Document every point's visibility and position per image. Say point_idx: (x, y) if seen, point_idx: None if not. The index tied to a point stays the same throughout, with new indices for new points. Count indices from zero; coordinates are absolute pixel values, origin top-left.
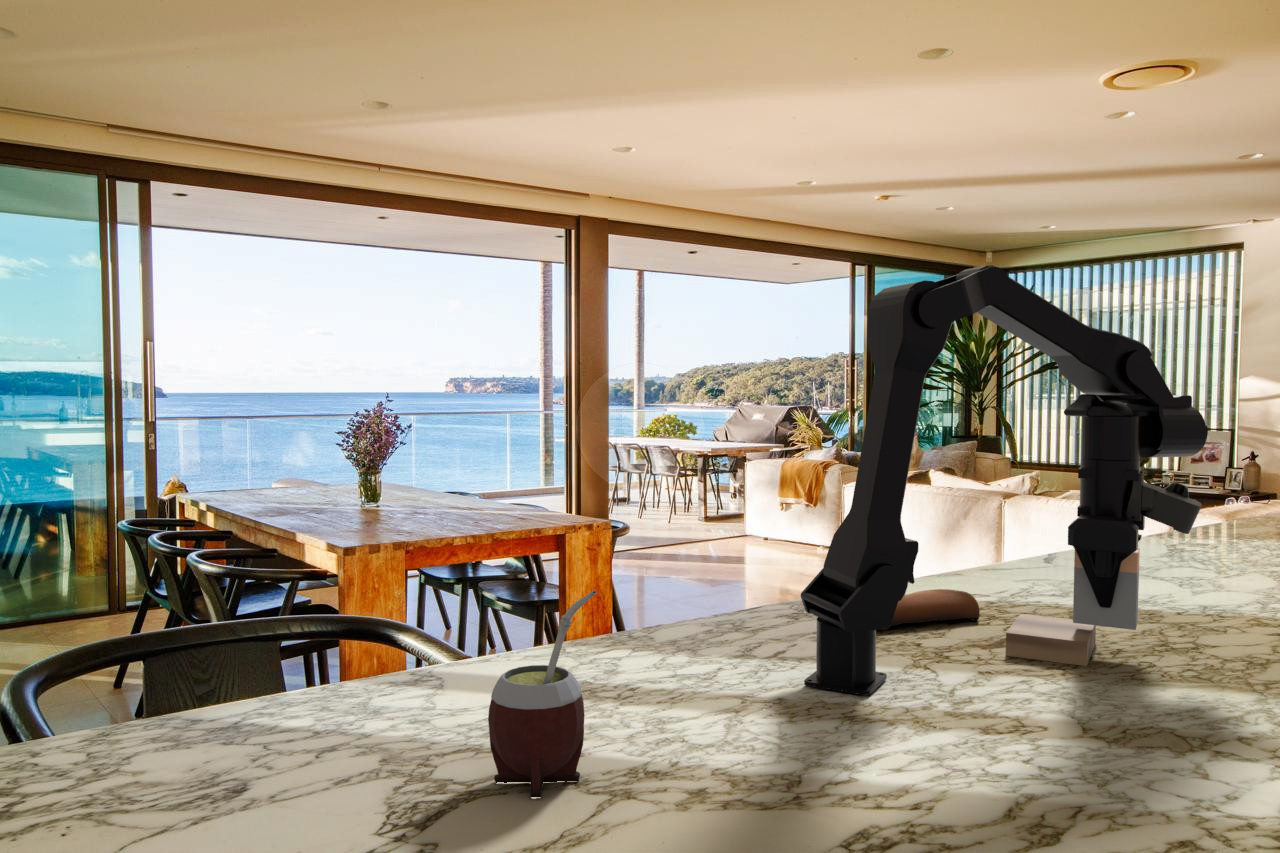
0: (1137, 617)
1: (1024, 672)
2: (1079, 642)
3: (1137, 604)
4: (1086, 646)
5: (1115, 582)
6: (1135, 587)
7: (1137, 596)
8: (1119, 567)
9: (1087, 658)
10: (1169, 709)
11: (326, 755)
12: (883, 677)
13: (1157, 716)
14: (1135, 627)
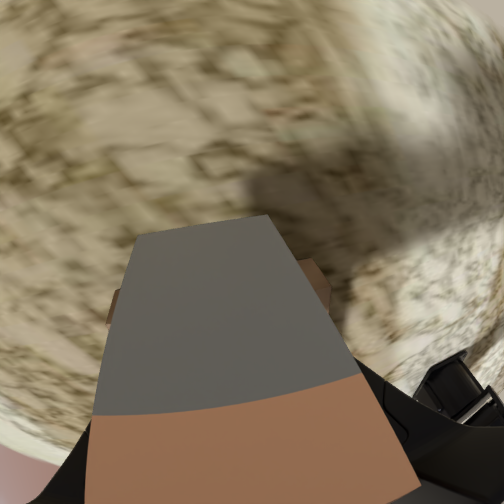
0: (153, 241)
1: (381, 311)
2: (329, 298)
3: (181, 265)
4: (326, 282)
5: (373, 374)
6: (327, 313)
7: (206, 286)
8: (437, 412)
9: (307, 266)
10: (470, 115)
11: (495, 386)
12: (440, 366)
13: (490, 133)
14: (268, 218)
